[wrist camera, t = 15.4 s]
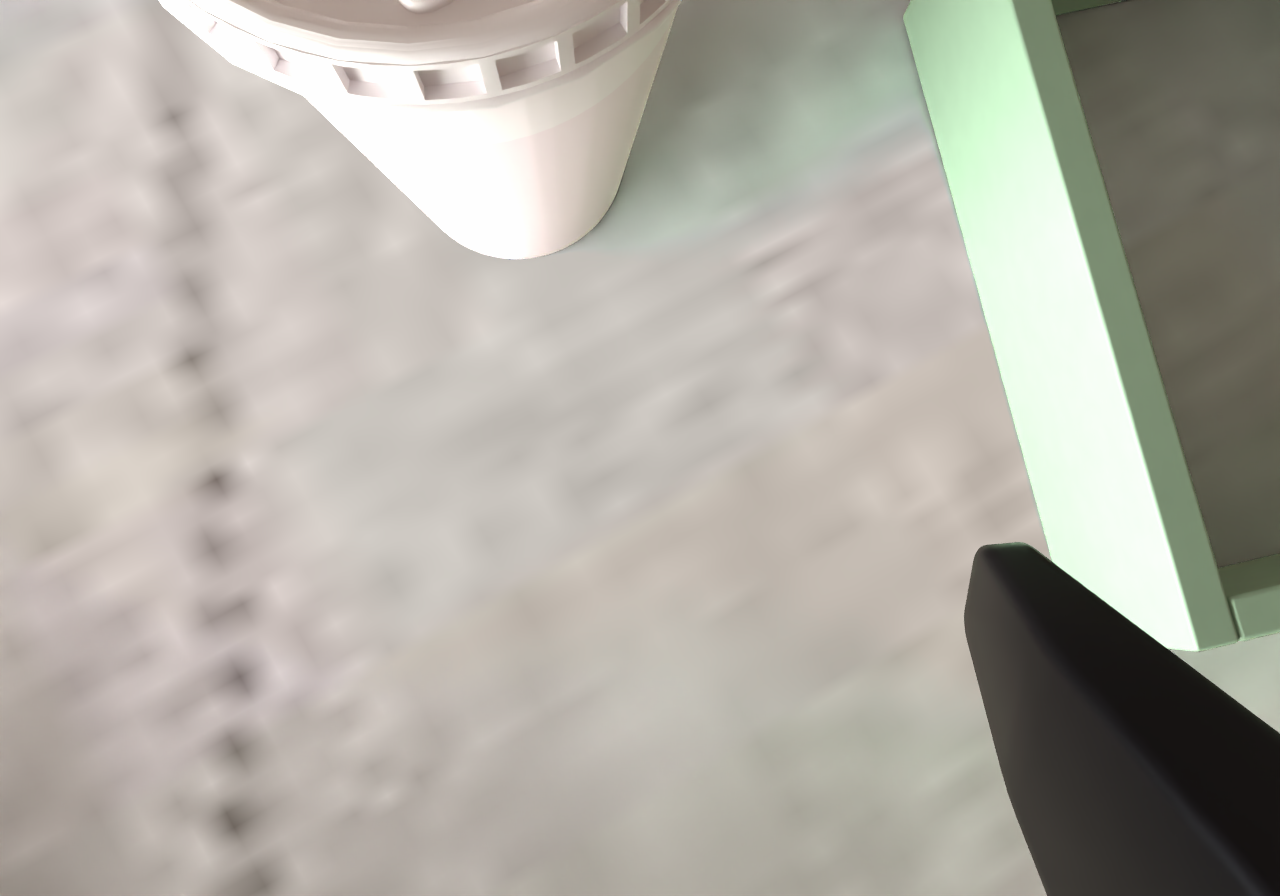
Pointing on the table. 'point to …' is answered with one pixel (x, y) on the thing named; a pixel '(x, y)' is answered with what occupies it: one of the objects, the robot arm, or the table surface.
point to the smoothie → (466, 98)
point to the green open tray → (1074, 326)
